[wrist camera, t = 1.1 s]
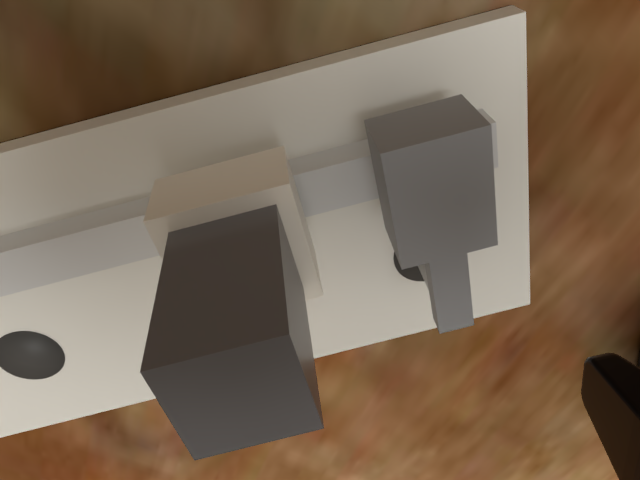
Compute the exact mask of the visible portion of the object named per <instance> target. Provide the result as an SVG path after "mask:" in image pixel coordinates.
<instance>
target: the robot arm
mask: <svg viewBox="0 0 640 480" xmlns="http://www.w3.org/2000/svg"><path fill="white" fill-rule="evenodd" d="M581 394H582V400H583V403H584V406H585V408H586V410H587V412H588V414H589V416H590V419H591V421H592V423H593V425H594V427H595V429H596V431H597V433H598V436H599V438H600V440H601V442H602V444H603V446H604V448H605V450H606V453H607V455H608V457H609V459H610V461H611V463H612V465H613V467H614V470H615V472H616V474H617V476H618V478H619V480H640V353H639V359H638V366H635V365H634V364H632V363H630V362H629V361H627V360H626V359H624V358H622V357H621V356H619V355H617V354H614V353H605V354H600V355H596V356H592V357H589V358H587V359H586V361H585V363H584V370H583V379H582V388H581Z"/></svg>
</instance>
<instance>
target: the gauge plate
mask: <svg viewBox="0 0 640 480" xmlns="http://www.w3.org/2000/svg"><path fill="white" fill-rule="evenodd" d="M280 146H284V147H285V151H286V154H287V157H288V161H289V164H290V168H291V171H292V174H293V178H294V181H295V185H296V188H297V191H298V195H299V198H300V202H301V205H302V208H303V212H304V215H305V219H306V222H307V225H308V229H309V232H310V236H311V239H312V242H313V246H314V249H315V254H316V259H317V264H318V269H319V275H320V280H321V285H322V291H323V297H319V298H315V299H311V300H307V301H306V308H307V315H308V322H309V329H310V336H311V343H312V350H313V356H314V358H318V357H322V356H326V355H330V354H334V353H338V352H342V351H346V350H350V349H354V348H358V347H362V346H366V345H370V344H374V343H378V342H382V341H386V340H390V339H394V338H398V337H402V336H406V335H410V334H414V333H418V332H422V331H426V330H430V329H433V328H438V331H439V333H444V332H448V331H452V330H456V329H460V328H464V327H468V326H472V325H474V318H477V317H481V316H485V315H489V314H493V313H497V312H501V311H505V310H509V309H513V308H517V307H521V306H525V305H529V304H530V253H529V185H528V118H527V50H526V11H524V10H522V9H520V8H518V7H516V6H514V5H510V6H507V7H503V8H499V9H495V10H492V11H488V12H484V13H481V14H477V15H473V16H470V17H466V18H462V19H458V20H455V21H451V22H447V23H444V24H440V25H436V26H433V27H429V28H425V29H421V30H418V31H414V32H410V33H407V34H403V35H399V36H396V37H392V38H388V39H384V40H381V41H377V42H373V43H370V44H366V45H362V46H359V47H355V48H351V49H347V50H344V51H340V52H336V53H333V54H329V55H325V56H322V57H318V58H314V59H310V60H307V61H303V62H299V63H296V64H292V65H288V66H284V67H281V68H277V69H273V70H270V71H266V72H262V73H259V74H255V75H251V76H247V77H244V78H240V79H236V80H233V81H229V82H225V83H222V84H218V85H214V86H210V87H207V88H203V89H199V90H196V91H192V92H188V93H185V94H181V95H177V96H173V97H170V98H166V99H162V100H159V101H155V102H151V103H148V104H144V105H140V106H136V107H133V108H129V109H125V110H122V111H118V112H114V113H111V114H107V115H103V116H99V117H96V118H92V119H88V120H85V121H81V122H77V123H74V124H70V125H66V126H62V127H59V128H55V129H51V130H48V131H44V132H40V133H37V134H33V135H29V136H25V137H22V138H18V139H14V140H11V141H7V142H3V143H0V438H1V437H5V436H9V435H13V434H16V433H20V432H24V431H28V430H32V429H36V428H40V427H44V426H48V425H52V424H56V423H60V422H64V421H68V420H72V419H76V418H80V417H84V416H88V415H92V414H96V413H100V412H104V411H108V410H112V409H116V408H120V407H124V406H128V405H132V404H136V403H140V402H144V401H148V400H152V399H155V398H156V397H155V396H154V394H153V392H152V391H151V389H150V388H149V386H148V384H147V383H146V381H145V380H144V378H143V376H142V375H141V373H140V369H141V364H142V359H143V354H144V350H145V345H146V340H147V335H148V330H149V325H150V320H151V315H152V310H153V306H154V301H155V296H156V291H157V286H158V281H159V276H160V271H161V266H162V262H163V261H162V259H161V257H160V255H159V253H158V251H157V249H156V247H155V245H154V243H153V241H152V239H151V237H150V235H149V233H148V231H147V229H146V227H145V225H144V223H143V220H144V217H145V213H146V210H147V206H148V203H149V199H150V196H151V192H152V189H153V185H154V181H155V180H156V179H160V178H163V177H167V176H171V175H175V174H178V173H182V172H186V171H190V170H193V169H197V168H201V167H205V166H209V165H212V164H216V163H220V162H224V161H227V160H231V159H235V158H239V157H242V156H246V155H250V154H254V153H258V152H261V151H265V150H269V149H273V148H276V147H280Z"/></svg>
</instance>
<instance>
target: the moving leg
mask: <svg viewBox="0 0 640 480" xmlns="http://www.w3.org/2000/svg"><path fill="white" fill-rule="evenodd" d="M143 223H144V225H145V227H146V229H147V231H148V233H149V235H150V237H151V239H152V241H153V243H154V245H155V247H156V249H157V251H158V253H159V255H160V257H161V259H162V261H163V262H162V266H161V271H160V276H159V281H158V286H157V291H156V296H155V301H154V306H153V310H152V315H151V320H150V325H149V330H148V335H147V340H146V345H145V350H144V354H143V359H142V364H141V369H140V373H141V375H142V376H143V378H144V380H145V381H146V383H147V384H148V386H149V388H150V389H151V391H152V392H153V394H154V396H155V397H156V399H157V401H158V402H159V404H160V405H161V407H162V409H163V410H164V412H165V414H166V415H167V417H168V418H169V420H170V422H171V423H172V425H173V426H174V428H175V430H176V431H177V433H178V435H179V436H180V438H181V439H182V441H183V443H184V444H185V446H186V447H187V449H188V451H189V452H190V454H191V456H192V457H193V459H194V460H198V459H202V458H206V457H210V456H214V455H218V454H222V453H226V452H230V451H234V450H239V449H243V448H247V447H251V446H255V445H259V444H263V443H267V442H271V441H275V440H279V439H283V438H287V437H291V436H295V435H299V434H303V433H307V432H311V431H315V430H319V429H323V428H324V425H323V418H322V412H321V405H320V398H319V391H318V384H317V377H316V370H315V363H314V356H313V350H312V343H311V336H310V329H309V322H308V315H307V308H306V301H307V300H311V299H315V298H319V297H323V291H322V285H321V280H320V275H319V269H318V264H317V259H316V254H315V249H314V246H313V242H312V239H311V236H310V232H309V229H308V225H307V222H306V219H305V215H304V212H303V208H302V205H301V202H300V198H299V195H298V191H297V188H296V185H295V181H294V178H293V174H292V171H291V168H290V164H289V161H288V157H287V154H286V151H285V147H284V146H280V147H276V148H273V149H269V150H265V151H261V152H258V153H254V154H250V155H246V156H242V157H239V158H235V159H231V160H227V161H224V162H220V163H216V164H212V165H209V166H205V167H201V168H197V169H193V170H190V171H186V172H182V173H178V174H175V175H171V176H167V177H163V178H160V179H156V180H155V181H154V185H153V189H152V192H151V196H150V199H149V203H148V206H147V210H146V213H145V217H144V220H143Z"/></svg>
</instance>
